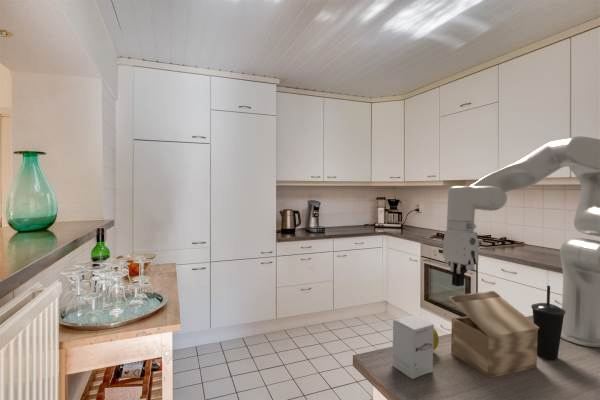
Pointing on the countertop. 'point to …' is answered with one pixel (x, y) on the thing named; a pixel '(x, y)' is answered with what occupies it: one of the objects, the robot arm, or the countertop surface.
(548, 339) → the drinking cup
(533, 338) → the light brown boxy piece
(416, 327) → the supplement box
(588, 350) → the countertop surface
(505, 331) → the lid flap
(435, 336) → the lemon
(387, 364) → the countertop surface
